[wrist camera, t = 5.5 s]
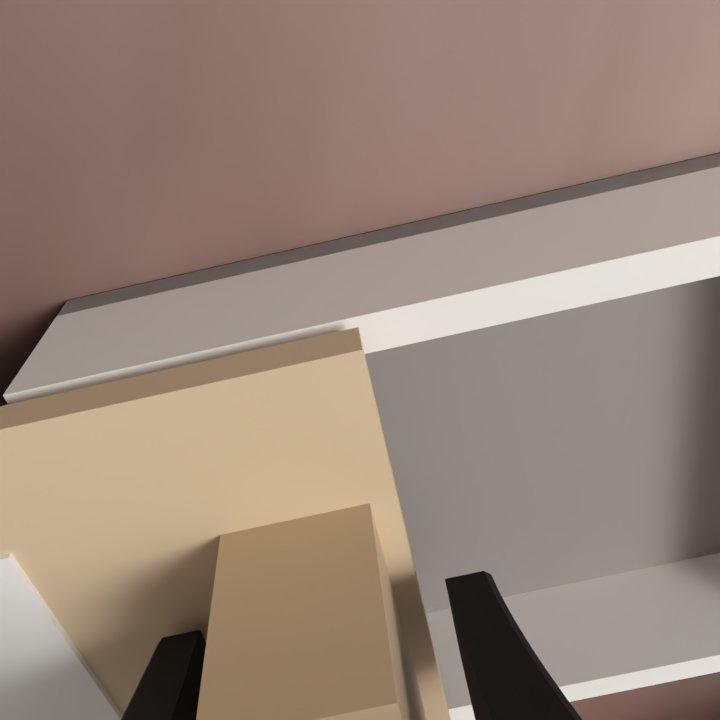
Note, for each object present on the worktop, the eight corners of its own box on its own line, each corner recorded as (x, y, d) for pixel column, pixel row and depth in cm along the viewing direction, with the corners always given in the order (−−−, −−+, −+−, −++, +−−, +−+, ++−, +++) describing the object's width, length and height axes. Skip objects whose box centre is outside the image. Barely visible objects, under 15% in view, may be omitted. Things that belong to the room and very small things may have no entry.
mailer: (805, 133, 11) (956, 183, 9) (747, 542, 16) (830, 649, 14) (67, 300, 12) (2, 395, 9) (236, 647, 17) (224, 771, 14)
